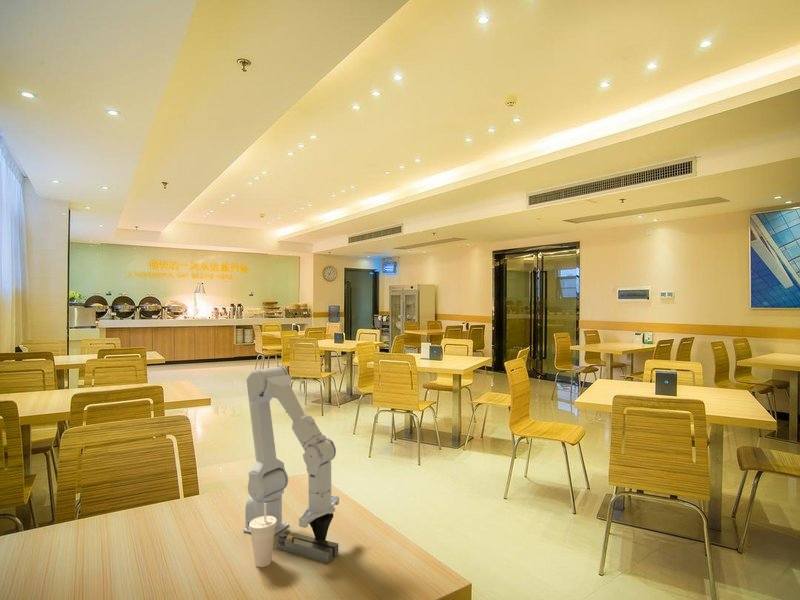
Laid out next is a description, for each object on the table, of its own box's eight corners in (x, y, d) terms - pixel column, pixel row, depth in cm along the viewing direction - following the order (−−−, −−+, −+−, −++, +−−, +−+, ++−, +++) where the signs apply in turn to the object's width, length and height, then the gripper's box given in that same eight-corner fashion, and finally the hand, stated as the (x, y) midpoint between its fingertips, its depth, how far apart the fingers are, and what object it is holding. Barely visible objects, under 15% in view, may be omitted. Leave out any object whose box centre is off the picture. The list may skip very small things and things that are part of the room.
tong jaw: (276, 544, 113) (276, 533, 113) (283, 538, 116) (283, 528, 116) (333, 558, 106) (333, 547, 106) (339, 552, 109) (339, 542, 109)
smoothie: (268, 572, 102) (268, 510, 102) (243, 568, 103) (243, 508, 103) (281, 556, 108) (281, 498, 108) (257, 553, 109) (257, 496, 109)
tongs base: (271, 547, 112) (271, 533, 112) (284, 539, 116) (283, 525, 116) (328, 563, 105) (328, 548, 105) (339, 554, 109) (339, 539, 109)
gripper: (315, 503, 104) (316, 562, 103) (348, 481, 117) (349, 533, 117) (291, 498, 107) (292, 555, 106) (326, 477, 120) (326, 528, 120)
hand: (320, 543), depth 112 cm, fingers closed
